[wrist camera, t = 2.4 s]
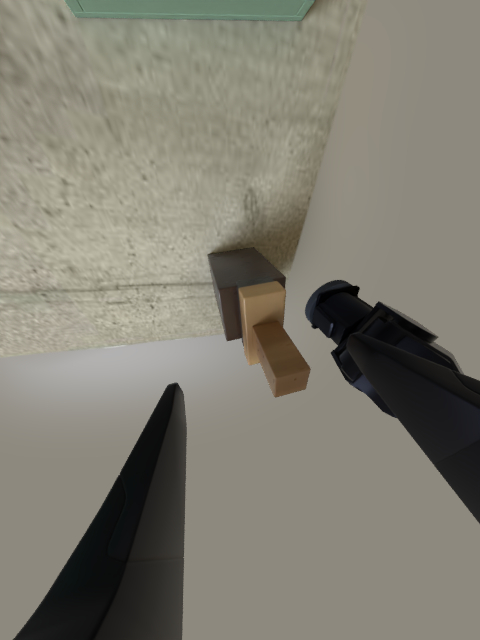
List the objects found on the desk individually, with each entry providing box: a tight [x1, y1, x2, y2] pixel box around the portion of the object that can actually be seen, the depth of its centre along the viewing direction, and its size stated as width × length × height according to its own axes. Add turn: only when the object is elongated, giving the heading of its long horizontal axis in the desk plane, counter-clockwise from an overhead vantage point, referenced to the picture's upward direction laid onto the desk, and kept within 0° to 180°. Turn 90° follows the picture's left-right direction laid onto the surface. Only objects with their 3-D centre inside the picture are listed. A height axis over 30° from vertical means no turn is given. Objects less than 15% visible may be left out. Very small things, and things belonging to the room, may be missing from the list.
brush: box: [236, 275, 310, 397], centre depth 12 cm, size 6×3×7 cm, turn 4°
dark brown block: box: [208, 247, 286, 341], centre depth 17 cm, size 5×5×8 cm
